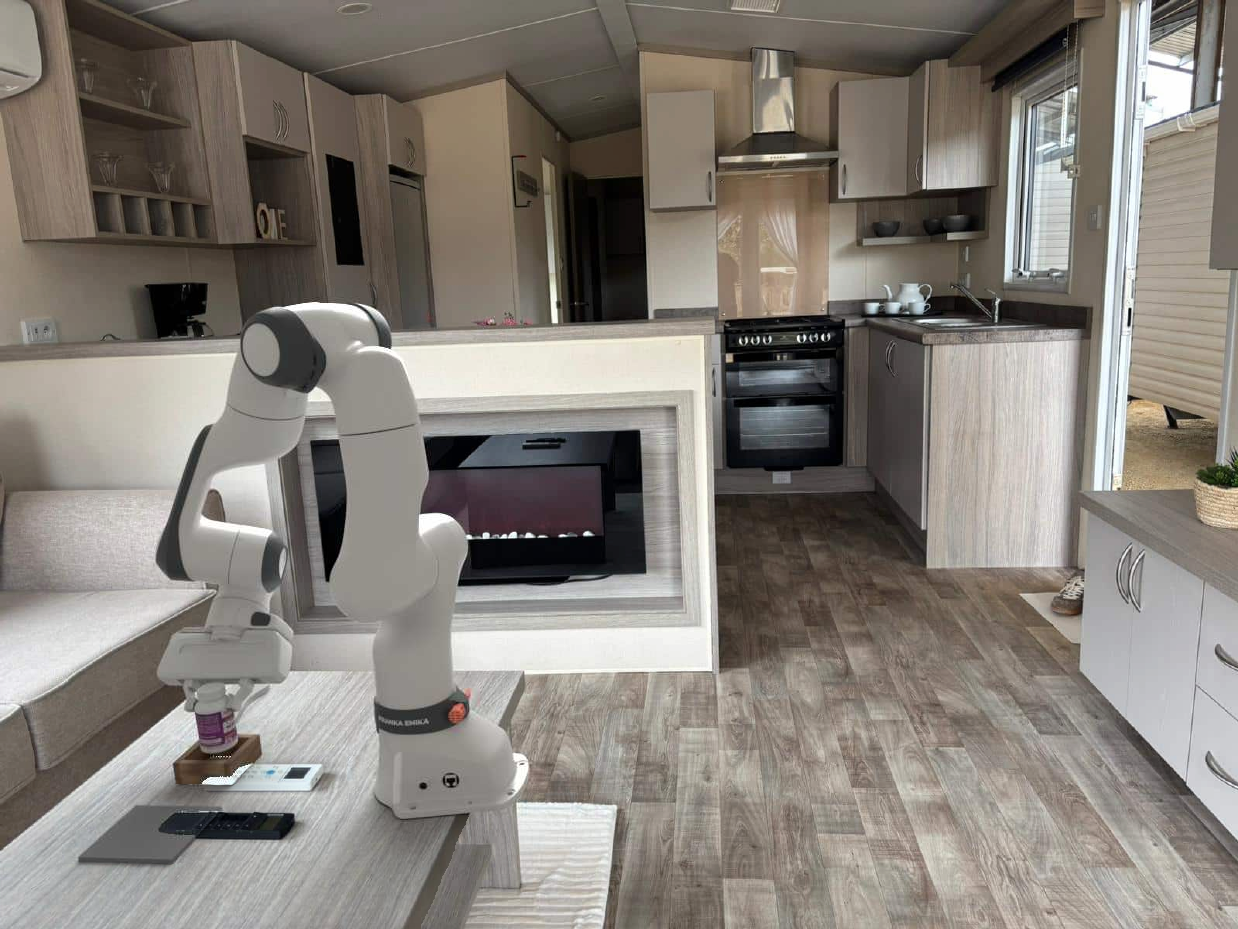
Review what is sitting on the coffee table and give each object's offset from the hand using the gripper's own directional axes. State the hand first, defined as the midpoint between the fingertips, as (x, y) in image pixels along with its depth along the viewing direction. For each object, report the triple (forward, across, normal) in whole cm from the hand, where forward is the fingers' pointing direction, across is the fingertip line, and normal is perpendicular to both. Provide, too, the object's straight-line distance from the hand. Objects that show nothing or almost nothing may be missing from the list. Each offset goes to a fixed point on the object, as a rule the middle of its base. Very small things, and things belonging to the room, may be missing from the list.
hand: (211, 711), depth 137 cm
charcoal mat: (+19, -1, -4) cm, 19 cm away
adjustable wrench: (-6, -9, +20) cm, 23 cm away
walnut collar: (+7, -1, +8) cm, 10 cm away
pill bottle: (+4, 0, +5) cm, 6 cm away
